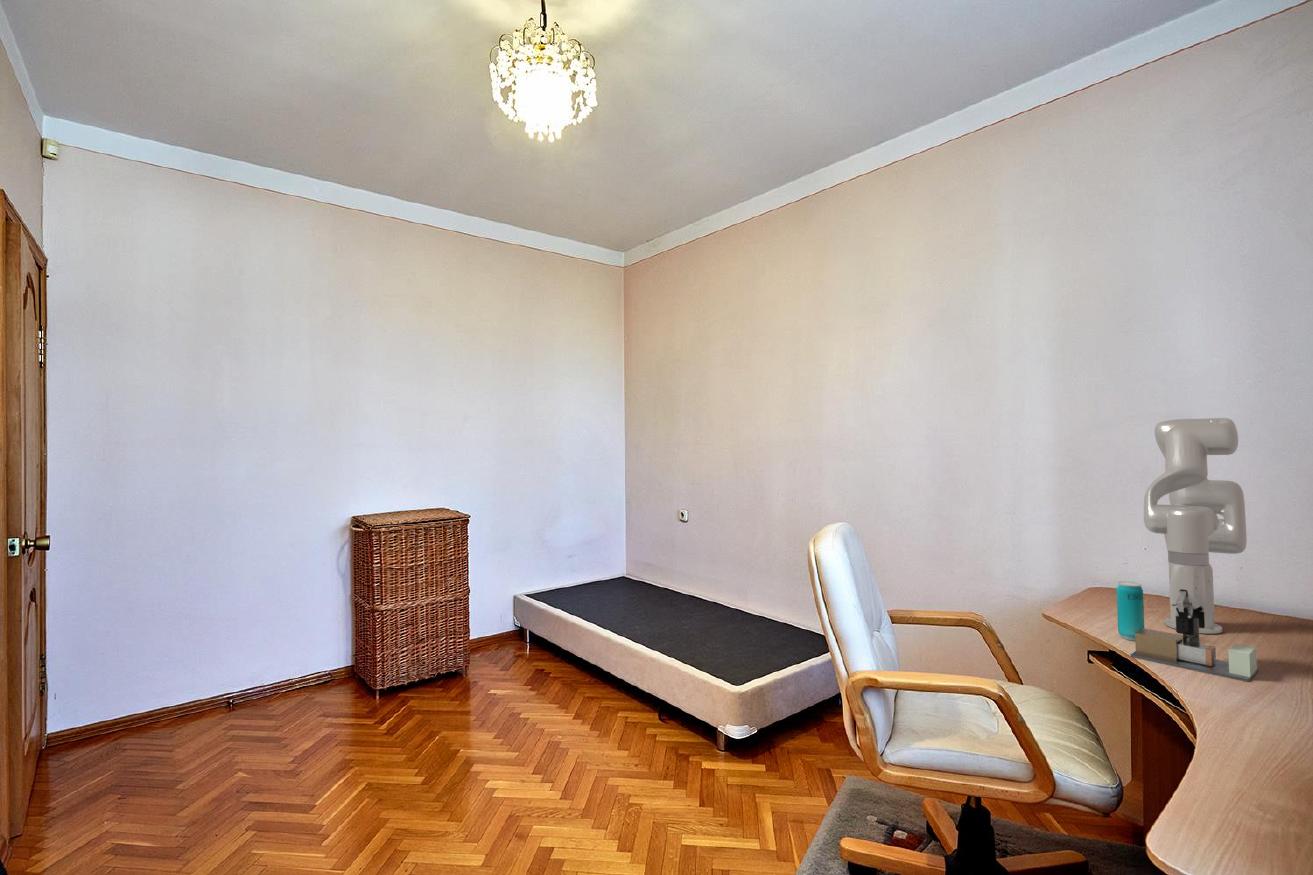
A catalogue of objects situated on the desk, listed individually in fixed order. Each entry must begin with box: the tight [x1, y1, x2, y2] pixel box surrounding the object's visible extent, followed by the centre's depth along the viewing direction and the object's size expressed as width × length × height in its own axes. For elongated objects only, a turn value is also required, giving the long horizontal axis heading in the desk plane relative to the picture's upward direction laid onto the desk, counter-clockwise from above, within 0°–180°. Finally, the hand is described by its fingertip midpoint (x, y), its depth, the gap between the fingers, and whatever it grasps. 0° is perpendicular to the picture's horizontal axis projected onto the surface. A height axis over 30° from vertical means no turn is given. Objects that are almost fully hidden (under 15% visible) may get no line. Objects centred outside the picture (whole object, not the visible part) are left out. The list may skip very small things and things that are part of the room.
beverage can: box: [1116, 581, 1145, 642], centre depth 167 cm, size 6×6×15 cm
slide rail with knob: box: [1130, 627, 1259, 683], centre depth 148 cm, size 11×22×6 cm, turn 37°
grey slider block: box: [1177, 617, 1217, 666], centre depth 150 cm, size 4×14×10 cm, turn 37°
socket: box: [1227, 643, 1258, 677], centre depth 141 cm, size 7×4×5 cm, turn 127°
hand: (1190, 630), depth 148 cm, fingers open, 9 cm apart
